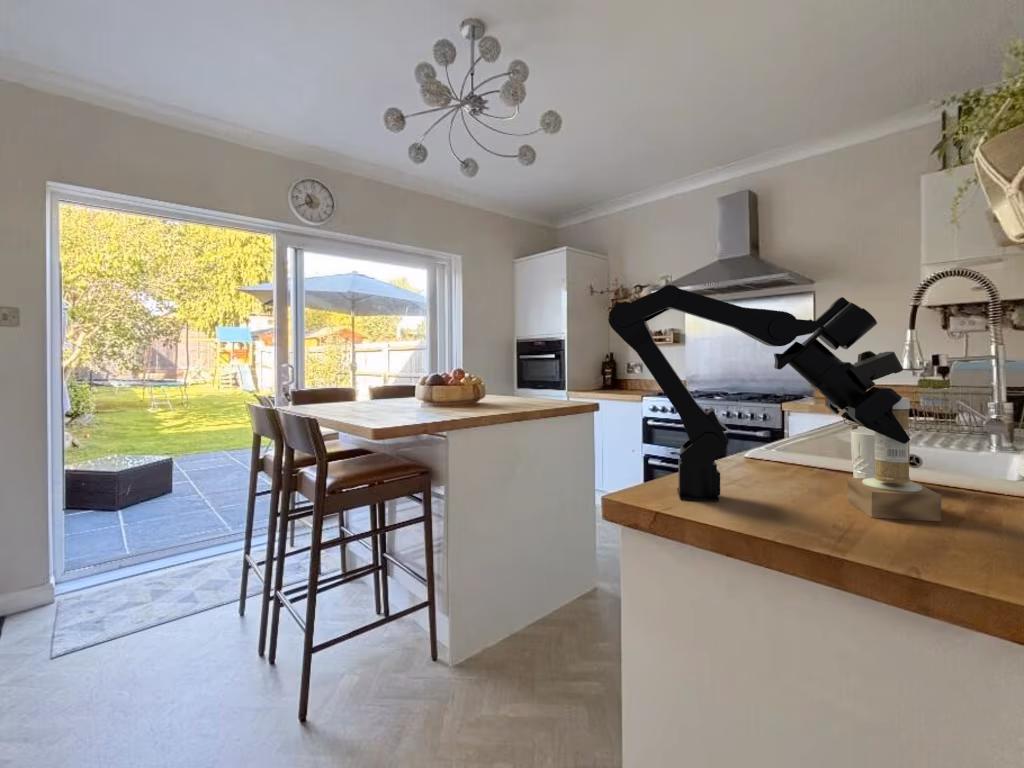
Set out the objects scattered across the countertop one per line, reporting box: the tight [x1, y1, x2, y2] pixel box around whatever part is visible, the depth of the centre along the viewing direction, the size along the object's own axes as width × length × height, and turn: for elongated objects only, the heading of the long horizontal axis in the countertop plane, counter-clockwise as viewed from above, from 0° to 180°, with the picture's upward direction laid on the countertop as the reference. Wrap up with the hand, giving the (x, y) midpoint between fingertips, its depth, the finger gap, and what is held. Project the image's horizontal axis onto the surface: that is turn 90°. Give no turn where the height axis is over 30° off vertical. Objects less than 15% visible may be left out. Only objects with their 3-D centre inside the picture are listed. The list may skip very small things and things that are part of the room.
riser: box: [846, 477, 942, 522], centre depth 79 cm, size 9×9×4 cm
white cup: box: [850, 428, 876, 478], centre depth 95 cm, size 8×8×10 cm
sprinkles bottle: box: [875, 396, 911, 483], centre depth 78 cm, size 5×5×14 cm
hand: (901, 439), depth 78 cm, fingers closed on sprinkles bottle, 4 cm apart
